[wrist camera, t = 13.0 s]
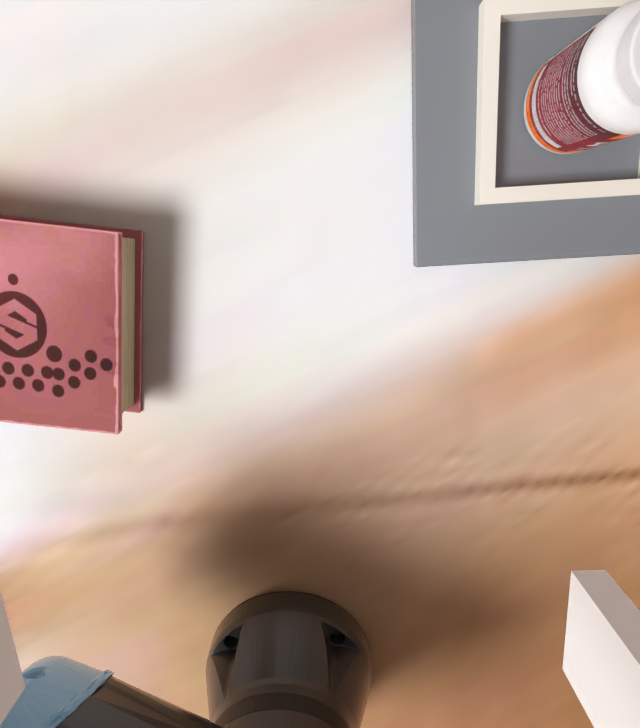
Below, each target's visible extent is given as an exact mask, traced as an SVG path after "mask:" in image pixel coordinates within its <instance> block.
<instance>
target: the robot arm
mask: <svg viewBox="0 0 640 728" xmlns="http://www.w3.org/2000/svg"><path fill="white" fill-rule="evenodd" d="M563 671H564V673H565V675H566V677H567V678H568V680H569V682H570V684H571V686H572V688H573V689H574V691H575V693H576V695H577V697H578V699H579V701H580V702H581V704H582V706H583V708H584V710H585V712H586V713H587V715H588V717H589V719H590V721H591V723H592V724H593V726H594V728H640V610H639V609H638V608H637V607H636V606H635V604H634V603H633V602H632V601H631V599H630V598H629V597H628V596H627V595H626V593H625V592H624V591H623V590H622V589H621V587H620V586H619V585H618V584H617V583H616V581H615V580H614V579H613V578H612V577H611V575H610V574H609V573H608V572H607V571H606V569H605V570H579V571H571V579H570V590H569V602H568V613H567V624H566V635H565V647H564V658H563ZM113 674H114V672H112V671H110V670H106V671H100V670H98V669H95V668H93V667H90V666H87V665H85V664H82V663H79V662H77V661H74V660H72V659H69V658H66V657H62V656H50V657H46V658H43V659H41V660H39V661H37V662H35V663H33V664H32V665H31V666H29V667H28V668H27V669H25V670H24V671H23V672H21V668H20V664H19V660H18V656H17V653H16V649H15V645H14V641H13V637H12V633H11V630H10V626H9V622H8V618H7V614H6V610H5V606H4V603H3V599H2V595H1V593H0V728H360V726H361V722H362V718H363V715H364V711H365V707H366V704H367V700H368V696H369V693H370V688H371V679H372V670H371V660H370V650H369V645H368V642H367V639H366V637H365V635H364V632H363V631H362V629H361V628H360V626H359V625H358V623H357V622H356V621H355V620H354V619H353V618H352V617H351V616H350V615H349V614H348V613H347V612H346V611H344V610H343V609H342V608H340V607H339V606H337V605H336V604H334V603H332V602H330V601H328V600H325V599H323V598H320V597H317V596H314V595H310V594H305V593H298V592H277V593H271V594H266V595H262V596H259V597H256V598H253V599H251V600H248V601H246V602H244V603H243V604H241V605H239V606H238V607H237V608H235V609H234V610H233V611H231V612H230V613H229V614H228V615H227V616H226V617H225V618H224V620H223V621H222V622H221V624H220V625H219V627H218V628H217V630H216V632H215V635H214V637H213V641H212V645H211V648H210V652H209V655H208V659H207V666H206V682H207V694H208V706H209V718H210V721H209V720H207V719H205V718H203V717H200V716H198V715H196V714H194V713H192V712H189V711H187V710H185V709H183V708H180V707H178V706H176V705H174V704H171V703H169V702H167V701H165V700H163V699H160V698H158V697H156V696H154V695H151V694H149V693H147V692H145V691H142V690H140V689H138V688H136V687H134V686H131V685H129V684H127V683H125V682H123V681H121V680H119V679H116V678H114V677H112V675H113Z"/></svg>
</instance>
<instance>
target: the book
mask: <svg viewBox="0 0 640 728" xmlns="http://www.w3.org/2000/svg"><path fill="white" fill-rule="evenodd" d="M142 312H143V232H142V231H133V230H124V229H116V228H107V227H98V226H89V225H80V224H71V223H62V222H54V221H45V220H36V219H27V218H18V217H9V216H0V422H9V423H19V424H28V425H37V426H46V427H56V428H65V429H74V430H83V431H93V432H102V433H111V434H119V433H120V432H121V431H122V413H123V412H124V411H126V412H136V413H140V412H141V392H142Z"/></svg>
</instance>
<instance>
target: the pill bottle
mask: <svg viewBox="0 0 640 728" xmlns="http://www.w3.org/2000/svg"><path fill="white" fill-rule="evenodd" d="M524 120H525V124H526V127H527V130H528V132H529V133H530V135H531V137H532V138H533V139H534V141H535V142H536V143H537V144H538V145H540V146H541V147H542V148H544V149H546V150H548V151H550V152H553V153H558V154H572V153H577V152H582V151H585V150H588V149H591V148H594V147H597V146H601V145H604V144H608V143H611V142H614V141H617V140H620V139H624V138H627V137H630V136H633V135H637V134H640V0H633V1H630V2H628V3H626V4H624V5H622V6H620V7H619V8H617V9H616V10H614V11H613V12H612V13H610V14H609V15H607V16H606V17H605V18H603V19H602V20H601V21H599V22H598V23H597V24H596V25H594V26H593V27H591V28H590V29H589V30H588V31H586V32H585V33H584V34H582V35H581V36H580V37H578V38H577V39H576V40H574V41H573V42H572V43H570V44H569V45H568V46H566V47H565V48H564V49H562V50H561V51H560V52H558V53H557V54H556V55H554V56H553V57H552V58H551V59H549V60H548V61H547V62H546V63H545V64H544V65H543V66H542V67H541V68H540V69H539V70H538V71H537V73H536V74H535V75H534V77H533V79H532V81H531V83H530V85H529V87H528V89H527V92H526V96H525V100H524Z"/></svg>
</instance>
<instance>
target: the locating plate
mask: <svg viewBox="0 0 640 728" xmlns="http://www.w3.org/2000/svg"><path fill="white" fill-rule="evenodd" d="M630 1H633V0H411V28H412V138H413V248H414V266H416V267H426V266H443V265H460V264H477V263H494V262H511V261H527V260H544V259H561V258H578V257H595V256H612V255H629V254H640V134H637V135H633V136H630V137H627V138H624V139H620V140H617V141H614V142H611V143H608V144H604V145H601V146H597V147H594V148H591V149H588V150H585V151H582V152H577V153H572V154H558V153H553V152H550V151H548V150H546V149H544V148H542V147H541V146H540V145H538V144H537V143H536V142H535V141H534V139H533V138H532V137H531V135H530V133H529V132H528V130H527V127H526V124H525V120H524V100H525V96H526V92H527V89H528V87H529V85H530V83H531V81H532V79H533V77H534V75H535V74H536V73H537V71H538V70H539V69H540V68H541V67H542V66H543V65H544V64H545V63H546V62H547V61H548V60H549V59H551V58H552V57H553V56H554V55H556V54H557V53H558V52H560V51H561V50H562V49H564V48H565V47H566V46H568V45H569V44H570V43H572V42H573V41H574V40H576V39H577V38H578V37H580V36H581V35H582V34H584V33H585V32H586V31H588V30H589V29H590V28H591V27H593V26H594V25H596V24H597V23H598V22H599V21H601V20H602V19H603V18H605V17H606V16H607V15H609V14H610V13H612V12H613V11H614V10H616V9H617V8H619V7H620V6H622V5H624V4H626V3H628V2H630Z"/></svg>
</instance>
